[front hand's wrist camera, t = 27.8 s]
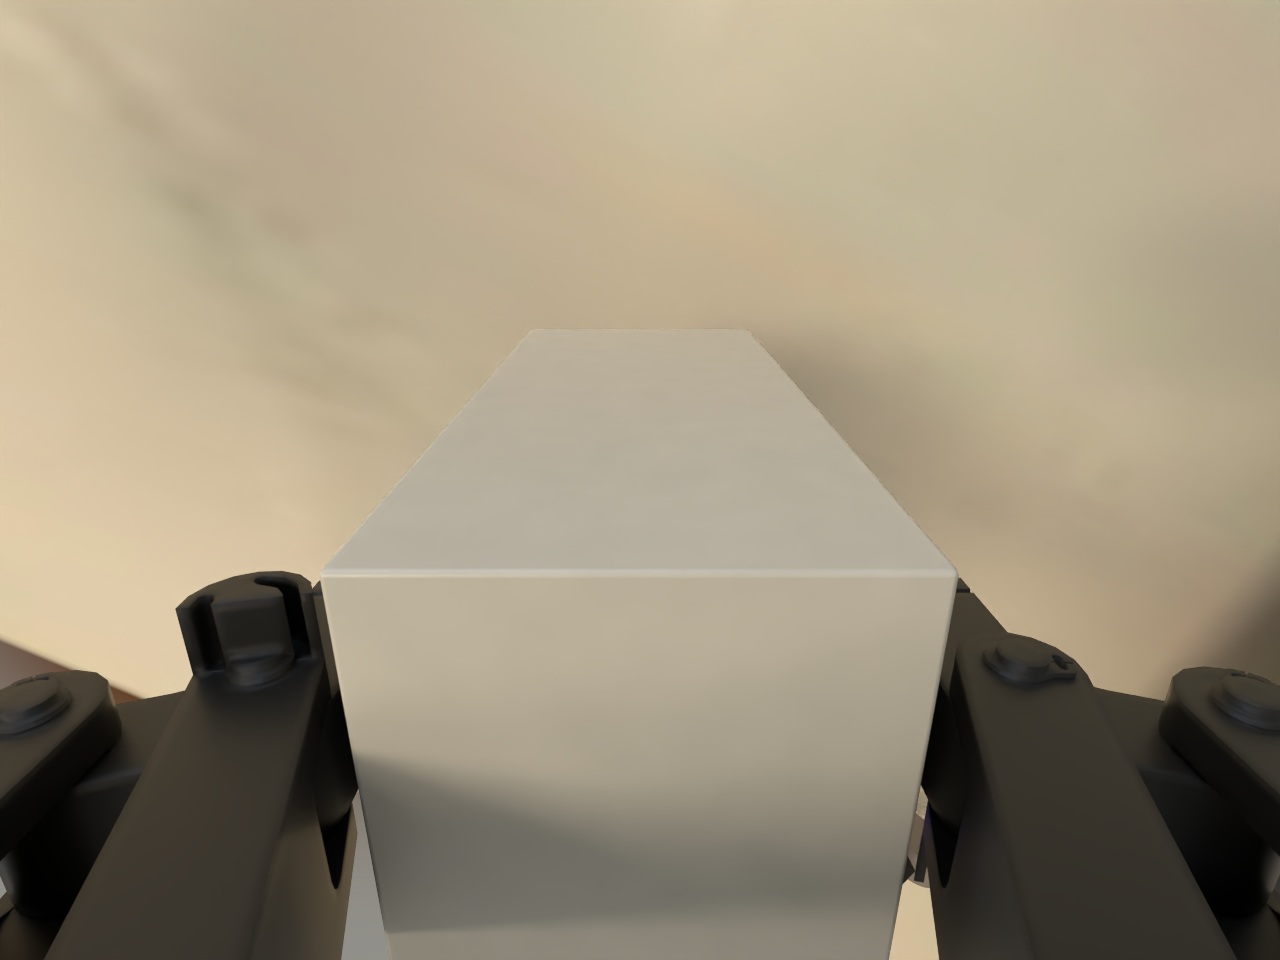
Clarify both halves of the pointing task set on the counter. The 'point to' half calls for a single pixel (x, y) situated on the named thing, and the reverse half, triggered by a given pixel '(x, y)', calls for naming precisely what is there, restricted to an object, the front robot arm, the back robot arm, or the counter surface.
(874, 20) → the counter surface
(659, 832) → the block
